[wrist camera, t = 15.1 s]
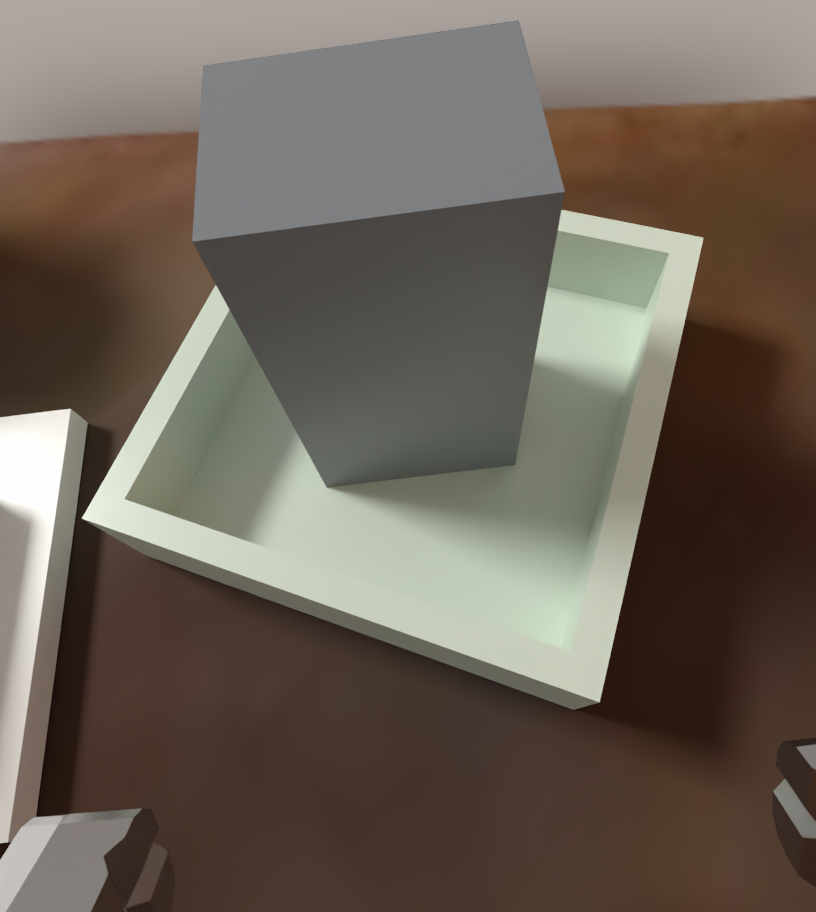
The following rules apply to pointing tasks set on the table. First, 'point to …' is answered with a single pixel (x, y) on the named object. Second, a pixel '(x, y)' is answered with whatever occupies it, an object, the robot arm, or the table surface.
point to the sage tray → (434, 483)
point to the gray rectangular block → (385, 242)
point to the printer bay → (32, 591)
